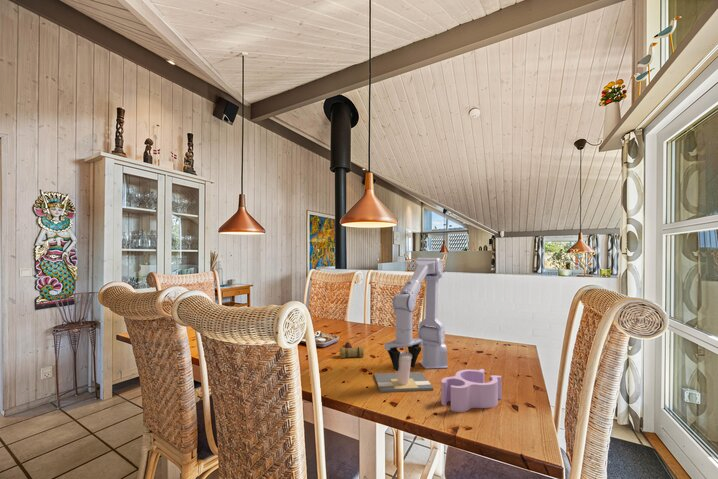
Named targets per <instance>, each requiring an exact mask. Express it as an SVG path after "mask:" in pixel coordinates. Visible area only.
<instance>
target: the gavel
mask: <svg viewBox="0 0 718 479" xmlns="http://www.w3.org/2000/svg"><path fill="white" fill-rule="evenodd" d="M344 345H345V347H344V346H343V347H342V346H341V347H340V348H339V357H340V359H345V358H364V356H365V354H364V346H358V347H353V346H352V345H351V342H349V341H346V342H345V344H344Z"/></svg>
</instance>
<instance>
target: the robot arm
mask: <svg viewBox="0 0 718 479" xmlns="http://www.w3.org/2000/svg"><path fill="white" fill-rule="evenodd" d="M443 266H444V264H443V262H442V259H441V258H440V257H417V258H416V259H415V262H414V272H413V274H412V277H411V278H409V279H408V280H407V281H406V282H405V283H404V285H403V286H402V289H401V290H400V292H399V293H396V294H395V295H394V296H393V299H392V308H393V313H394V315H395V340H391V341H389V342H385V343H384V350H386V351H387V354H388V355H389V357H390V360H391V365H392V368H393V370H394V371H398V369H399V356H400V352H401V351H399V350H398V349H400V348H404V347H405V348H407V350H408V351H407V352H408V353H411V354H412V359H411V366H410V368H412V369H415V367H416V363H417V359H418V357H419V355H420V353H421V351H422V360H419V364H420V365H421V366H422V367H423V368H424V369H426V370H427V369H428V370H429V369H448V349H447V344H445V343H444V342H445V340H446V333H445V331H446V330H445V325H444V323H443V322H441V321H440V320H439V319H438V311H439V309H438V306H439V304H438V303H439V282H440V281H439V279H442V278H443V269H444V268H443ZM423 280H425V283H426V285H425V286H426V287H425V313H424V315H425V316H424V319H423V320H421V321H420V322H419V324H418V330H417V338H413V312H414V309H415V308H416V302H417V297H418V295H419V293H420V291H421V288H422V287H421V283H422V282H423ZM421 346H422V347H421Z"/></svg>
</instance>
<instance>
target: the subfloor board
mask: <svg viewBox="0 0 718 479" xmlns="http://www.w3.org/2000/svg"><path fill="white" fill-rule="evenodd" d="M373 376H374V377H373V378H374V379H375V382H376V385H377V387H378V389H379V392H380V393H393V392H394V393H396V392H397V393H398V392H419V391H420V392H421V391H426V392H427V391H434V386H433V385H432V384H431V382H430V381H429V380H428V378H426V376H425V375H424V374H423V372H422V371H416V372H415V371H413V372H412V371H410V374H409V383H408V384H407V385H401V384H398V381H397V372H389V373H388V372H386V373H385V372H384V373H383V372H382V373H380V372H379V373H373Z"/></svg>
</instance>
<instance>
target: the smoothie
mask: <svg viewBox="0 0 718 479" xmlns="http://www.w3.org/2000/svg"><path fill="white" fill-rule="evenodd" d="M399 352H400V356H399V369H398V371H396V370H395V371H396V372H395V373H397V381H398V384H401V385H407V384H408V383H409V374H410V372H411V367H410V366H411V359H412V354H411V353H409V351H406V347H403V351H399Z"/></svg>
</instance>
